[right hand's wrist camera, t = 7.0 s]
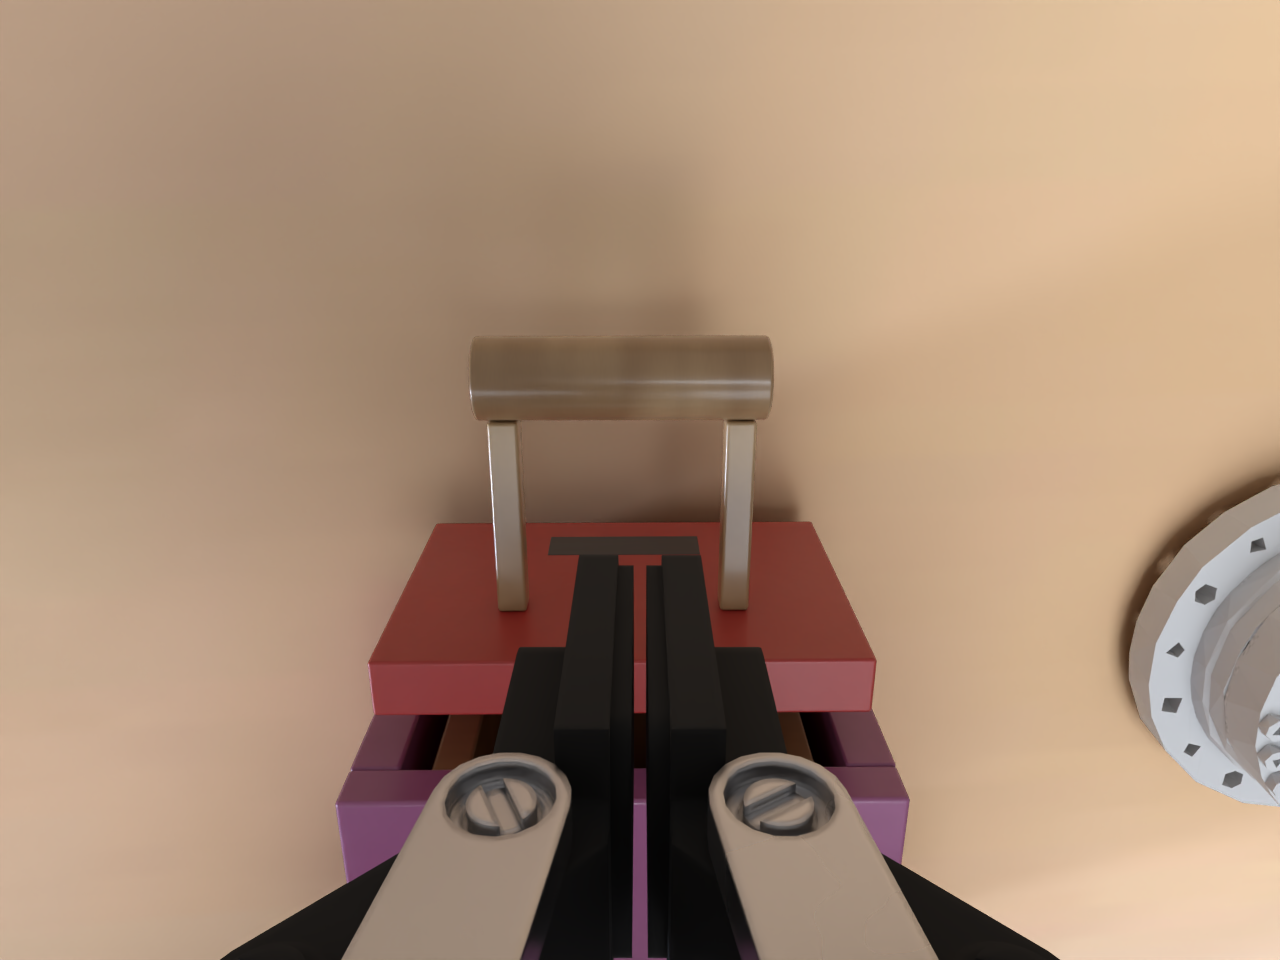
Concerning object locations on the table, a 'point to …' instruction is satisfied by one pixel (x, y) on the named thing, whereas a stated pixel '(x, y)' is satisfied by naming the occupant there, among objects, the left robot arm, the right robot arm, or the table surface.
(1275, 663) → the mechanical component
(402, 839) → the cabinet
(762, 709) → the right robot arm
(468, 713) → the drawer
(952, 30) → the table surface
